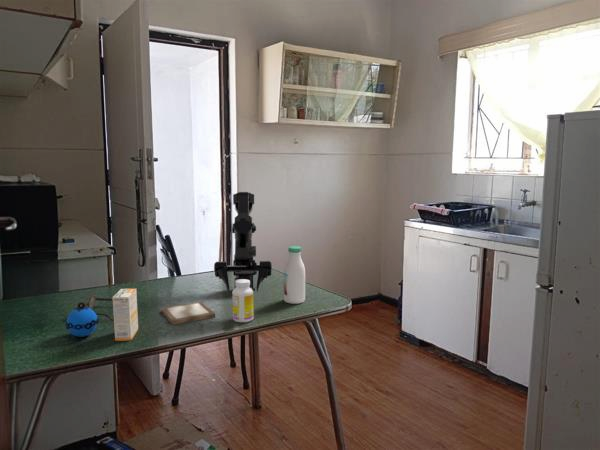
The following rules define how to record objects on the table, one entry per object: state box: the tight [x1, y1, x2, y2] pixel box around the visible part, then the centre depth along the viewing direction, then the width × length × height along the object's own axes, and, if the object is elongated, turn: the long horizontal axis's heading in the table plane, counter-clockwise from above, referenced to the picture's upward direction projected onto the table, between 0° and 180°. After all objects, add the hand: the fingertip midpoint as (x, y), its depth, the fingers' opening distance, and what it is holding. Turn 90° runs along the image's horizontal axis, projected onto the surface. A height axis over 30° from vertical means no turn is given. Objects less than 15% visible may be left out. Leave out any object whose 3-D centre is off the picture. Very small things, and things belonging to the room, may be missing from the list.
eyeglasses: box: [76, 294, 114, 322], centre depth 155 cm, size 15×15×5 cm
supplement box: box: [111, 288, 139, 342], centre depth 136 cm, size 8×5×13 cm, turn 5°
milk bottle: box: [283, 245, 306, 305], centre depth 168 cm, size 8×8×20 cm
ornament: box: [65, 302, 99, 338], centre depth 135 cm, size 9×9×10 cm
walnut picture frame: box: [160, 301, 216, 326], centre depth 155 cm, size 14×14×1 cm
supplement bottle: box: [231, 279, 255, 323], centre depth 150 cm, size 7×7×13 cm
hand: (242, 291), depth 150 cm, fingers open, 9 cm apart
